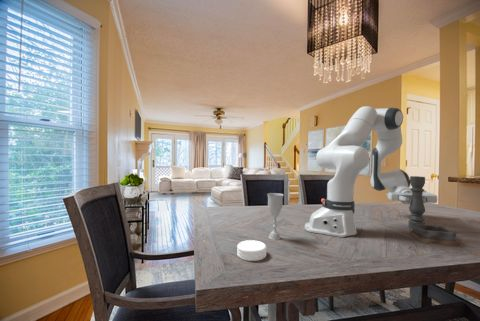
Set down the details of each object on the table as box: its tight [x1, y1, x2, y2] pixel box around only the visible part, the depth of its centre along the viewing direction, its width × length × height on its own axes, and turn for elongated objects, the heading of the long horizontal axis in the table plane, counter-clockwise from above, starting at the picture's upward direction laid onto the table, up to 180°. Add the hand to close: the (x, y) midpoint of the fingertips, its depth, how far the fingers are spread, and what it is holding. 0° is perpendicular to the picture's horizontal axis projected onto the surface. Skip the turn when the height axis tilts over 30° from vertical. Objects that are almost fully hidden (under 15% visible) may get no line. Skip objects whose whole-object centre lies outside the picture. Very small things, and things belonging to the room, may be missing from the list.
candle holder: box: [408, 175, 426, 230], centre depth 108 cm, size 6×6×25 cm
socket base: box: [409, 224, 461, 247], centre depth 93 cm, size 12×12×4 cm
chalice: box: [266, 192, 284, 241], centre depth 93 cm, size 7×7×18 cm
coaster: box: [236, 239, 267, 262], centre depth 76 cm, size 10×10×4 cm
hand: (417, 199), depth 107 cm, fingers open, 7 cm apart
